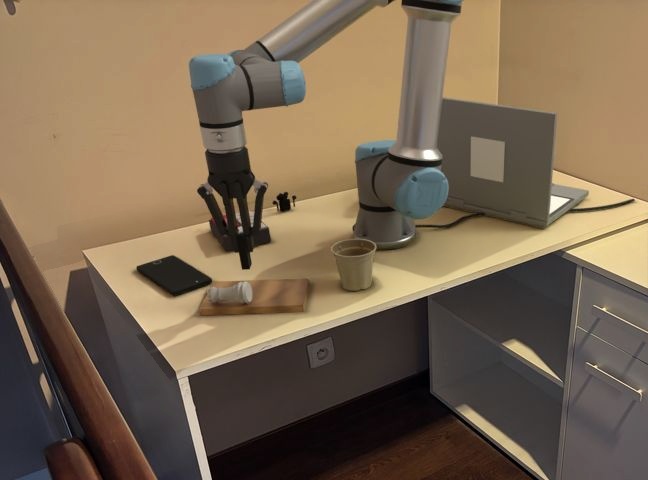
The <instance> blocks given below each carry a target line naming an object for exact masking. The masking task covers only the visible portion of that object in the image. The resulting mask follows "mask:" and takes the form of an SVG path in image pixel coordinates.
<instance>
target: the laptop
mask: <svg viewBox="0 0 648 480" xmlns="http://www.w3.org/2000/svg"><path fill="white" fill-rule="evenodd" d="M557 122H558V112H553V111H547V110H540V109H539V110H538V109H531V108H526V107H525V108H524V107H517V106H510V105H503V104H495V103H488V102H480V101H474V100H467V99H466V100H465V99H459V98H452V97H444V96H443V98H442V106H441V114H440V123H439V131H438V139H437V149H438V150H439V152H440V153H441V154H442V165H441V172H442V173H443V174H444V176H445V178H446V179H447V181H448V187H449V190H448V196H447V199H446V201H445V203H444V205H443V206H442V207H445V208H450V209H454V210H459V211H462V212H463V211H464V212H468V213H471V214H476V213H485V214H486V215H484V216H486V217H491V218H495V219H499V220H504V221H508V222H511V223H518V224H521V225H526V226H531V227H534V228H540V229H545V228H547V227H549V226H550V225H551V224H552V223H554V222H555V221H556V220H558V219H559V218H560V217H562V216H564V214H566V213H568V212H567V211H568V210H570V209H574V207H575V206H577V205H578V204H579V203H581V202H582V201H584V200H585V199H586V198H587V197H589V194H590V191H589V190H588V189H584V188H578V187H573V186H567V185H563V184H556V183H553V177H554V176H553V174H554V163H555V162H554V161H555V151H556V150H555V148H556V137H557V136H556V135H557V125H558V124H557Z"/></svg>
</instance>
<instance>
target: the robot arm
mask: <svg viewBox="0 0 648 480" xmlns="http://www.w3.org/2000/svg"><path fill="white" fill-rule="evenodd" d="M395 1H396V0H311V1H310V2H308V3H307V4H305V6H303V7H302V8H300V9H298V10H297V11H296V12H295V13H293V14H292V15H290V16H289V17H288V18H286V19H285V20H284V21H282V22H280V23H279V24H277V26H275V27H274V28H273V29H271V30H270V31H268V32H267V33H266V34H264V35H263V36H261V37H260V38H258V39H257V40H256V41H254V42H253V43H251V44H250V45H248V46H247V47H245V48H244V49H236V50H232V51H230V52H229V53H227V54H226V53H205V54H199V55H195V56H193V57H192V58H190V60H188V61H189V62H188V71H189V78H190V88H191V90H192V95H193V98H194V103H195V108H196V114H197V118H198V123H199V131H200V135H201V141H202V145H203V148H204V149H206V150H205V151H204V155H205V161H206V166H207V171H208V175H207V179H206V182H204V183H202V184H200V185H199V186H198V188H197V189H196V193H197V194H198V195H199V196H200V197H201V198H202V199H203V200H204V203H205V204H206V207H207V209H208V211H209V213H210V215H211V218H213V220H214V222H215V224H216V226H217V228H218V230H219V233H220V234H221V235H222V236H224V235H226V236H229V237H230V238H231V241H232V246H233V250H232V251H233V252H234V254H238V256H239V262H240V267H241V270H242V271H247V270H250V269H251V268H252V265H253V261H252V256H251V255H252V254H251V253H253V252H254V250H255V245H254V243H253V235H257V234H258V233H259V231H260V229H261V221H262V220H263V209H264V200H265V194H266V192H267V190H268V188H269V184H268V182H265V181H263V182H262V181H260V180H258V179H257V178H256V176H255V174H254V172H253V171H252V167H251V160H250V155H249V150H248V149H249V148H248V147H246V145H247V144H248V143H247V135H246V131H245V124H244V118H243V112H247V111H254V110H255V111H256V110H263V109H271V108H280V107H289V106H293V105H296V104H300V103H302V102H303V101H304V100H305V98H306V92H307V84H306V78H305V75H304V72H303V69H302V67H301V65H300V64H299V63H301V62H302V61H303V60H305V59H306V58H308V57H309V56H310V55H312V54H314V52H316V51H317V50H318V49H320V48H321V47H323V46H324V45H325V44H327V43H328V42H330V41H331V40H332V39H334V38H335V37H336V36H338V35H340V34H341V33H342V32H344V31H345V30H346V29H348V28H349V27H350V26H352V25H353V24H354V23H356V22H358V21H359V20H361V18H363V17H364V16H365V15H367V14H368V13H370V12H372V11H373V10H374V9H375V8H376V7H378V8H386V7H387V6H389V5H390V4H391V3H393V2H395ZM463 1H464V0H401V3H400V4H401V5H400V7H401V9H402V10H403V11H404V13H405V15H406V16H407V24H406V34H405V35H406V36H405V45H404V56H403V67H402V77H401V86H400V87H401V88H400V98H399V110H398V121H397V131H396V139H383V140H382V139H381V140H373V141H368V142H365V143H361V144H359V145H358V146H357V147H356V149H355V152H354V156H355V157H354V164H355V174H356V186H357V197H358V212H357V216H356V220H355V223H354V224H353V225H352V232H353V239H366V240H370V241H372V242H374V243H375V244H376V246H377V248H376V250H379V251H380V250H382V251H388V250H395V249H400V248H404V247H407V246H410V245H411V244H412V243H414V242H415V241H416V240H417V235H418V234H417V229H419V228H421V229H423V228H424V229H426V228H427V229H428V228H431V229H432V228H434V229H447V228H450V227H454V226H456V225H457V224H459V223H461V222H462V221H464V220H467V219H470V218H475V217H481V216H485V215H486V214H485V213H471V214H467V215H464V216H461V217H460V218H458V219H456V220H455V221H452V222H450V223H446V224H416V223H415V222H414V220H415V221H418V220H420V221H421V220H425V219H429V218H431V217H432V216H434V215H435V214H436V213H437V212H438V211H440V210H441V209H442V207H444V206H443V205H444V203H445V201H446V199H447V196H448V190H449V187H448V181H447V179H446V178H445V176H444V174H443V173H442V172H441V165H442V154H441V153H440V152H439V150H438V149H437V139H438V131H439V123H440V114H441V106H442V98H443V97H444V90H445V89H444V88H445V80H446V73H447V72H446V71H447V65H448V64H447V63H448V56H449V55H448V54H449V49H450V48H449V47H450V38H451V30H452V24H453V23H454V21H456V20H457V19H458V18H459V17H460V16H461V13H462V4H463ZM252 187H253V188H254V189H253V191H254V193H255V194H256V195H255V199H254V211H253V213H254V220H253V226H252V227H251V221H250V216H249V211H250V209H249V205H248V194H249V192H250V191H251V189H252ZM214 191H215V192H216V193H217V195H219V196H220V197H221V199H222V204H223V207H224V212H225V215H226V218H227V223H228V225H227V223H226V221H225V219H224V217H223V215H224V214H223V212H222V210H221V208H220V205H219V203H218V201H217V199H216V196H215V194H214V193H213V192H214ZM234 199H235V200H236V204H237V206H238V213H239V212H240V218H241V224H242V229H243V234H238V232H239V230H238V225H237V219H236V214H235V213H236V208H235V205H234V204H235V202H234ZM635 201H636V200H635V198H630V199H627V200H624V201H620V202H616V203H612V204H611V203H610V204H608V205H607V204H606V205H601V206H600V205H599V206H593V207H581V208H571V209H570V210H568V211H567V212H566V213H568V212H569V213H574V212H587V211H597V210H604V209H611V208H614V207H619V206H623V205H626V204H630V203H633V202H635ZM262 222H263V221H262Z"/></svg>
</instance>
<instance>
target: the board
mask: <svg viewBox="0 0 648 480" xmlns="http://www.w3.org/2000/svg"><path fill="white" fill-rule="evenodd" d="M245 281H246V282H248V283H249V284H250V285H251V288H252V300H251V302H249V303H248V304H247V303H246V302H245V303H244V304H242V303H239V302H236V301H233V300H224V301H223V302H222V301H217V302H216V303H213V302H210V301H208V299H210V298H207V296H209V294H207V293H206V295H205V298H204V299H203V302H202V304H201V306H200V307H199V311H200V315H201V316H221V315H222V316H225V315H226V316H227V315H246V314H247V315H250V314H252V315H253V314H272V313H273V314H274V313H275V314H276V313H297V312H298V313H299V312H300V313H301V312H305V309H306V303H307V299H308V295H309V290H310V286H311V282H310V281H311V280H310V278H309V277H305V278H276V279H275V278H273V279H250V280H248V279H247V280H245V279H244V280H223V281H221V280H220V281H212V283H211V285H210V287H209V289H211V288H212V287H215V288H217V289H219V288H220V287H221V288H228V287H232V286H234V285H237V284H238V283H239V282H242V283H244V282H245Z"/></svg>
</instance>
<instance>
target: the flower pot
mask: <svg viewBox="0 0 648 480" xmlns="http://www.w3.org/2000/svg"><path fill="white" fill-rule="evenodd" d="M376 248H377V246H376V244H375V243H374V242H372V241H370V240H366V239H354V238H348V239H347V238H346V239H343V240H340V241H336V242H335V243H333V244H332V245H331V246H330V253H332V255H333V258H334V259H335V262H336V266H337V270H338V274H339V278H340V283H341V286H342V287H343V288H344V289H345V290H347V291H350V292H351V291H352V292H359V291H360V290H367V289H368V288H369V287H371V285H372V280H373V265H374V257H375V252H376V251H377V249H376Z"/></svg>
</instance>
